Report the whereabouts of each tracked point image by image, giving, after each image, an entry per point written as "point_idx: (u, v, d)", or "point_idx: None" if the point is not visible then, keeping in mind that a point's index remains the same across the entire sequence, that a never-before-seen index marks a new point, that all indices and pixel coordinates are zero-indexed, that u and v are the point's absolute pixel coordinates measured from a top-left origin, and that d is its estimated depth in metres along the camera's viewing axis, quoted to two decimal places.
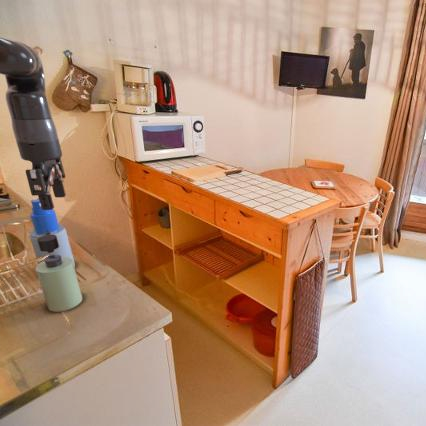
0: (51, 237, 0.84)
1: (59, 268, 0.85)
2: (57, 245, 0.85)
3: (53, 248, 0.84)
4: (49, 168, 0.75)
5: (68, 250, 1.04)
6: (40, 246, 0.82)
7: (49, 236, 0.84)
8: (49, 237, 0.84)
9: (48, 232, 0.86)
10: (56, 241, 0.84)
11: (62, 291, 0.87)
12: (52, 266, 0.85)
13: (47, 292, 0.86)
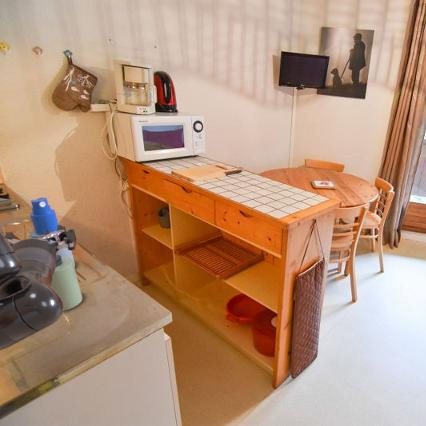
0: None
1: (59, 268, 0.85)
2: None
3: None
4: None
5: (68, 250, 1.04)
6: None
7: None
8: None
9: (48, 232, 0.86)
10: None
11: (62, 291, 0.87)
12: None
13: None
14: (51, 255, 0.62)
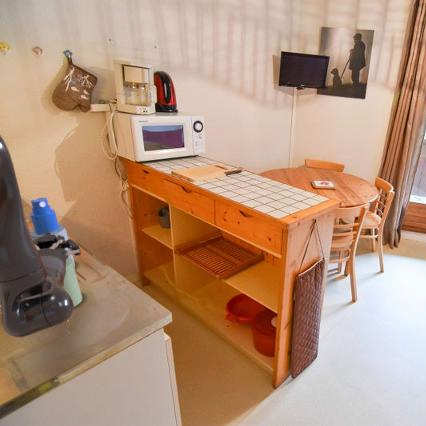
0: (51, 237, 0.84)
1: None
2: None
3: None
4: None
5: None
6: (40, 246, 0.82)
7: (49, 236, 0.84)
8: (49, 237, 0.84)
9: (48, 232, 0.86)
10: (56, 241, 0.84)
11: None
12: None
13: None
14: (62, 262, 0.75)
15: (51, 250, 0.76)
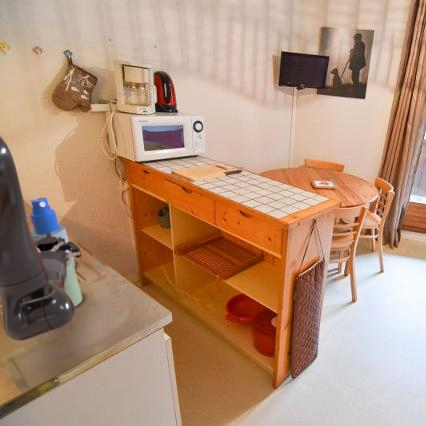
0: (52, 239, 0.84)
1: None
2: None
3: None
4: None
5: (68, 250, 1.04)
6: (41, 248, 0.83)
7: (50, 238, 0.85)
8: (50, 239, 0.84)
9: (49, 234, 0.87)
10: (57, 243, 0.85)
11: None
12: None
13: None
14: (63, 265, 0.75)
15: (52, 253, 0.76)
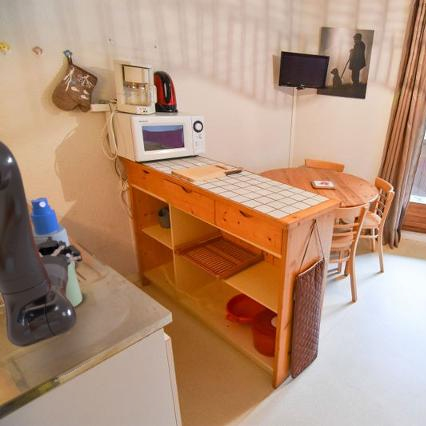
0: (53, 242, 0.85)
1: None
2: None
3: None
4: None
5: None
6: (42, 252, 0.83)
7: (51, 242, 0.85)
8: (51, 242, 0.85)
9: (50, 238, 0.87)
10: (58, 247, 0.85)
11: None
12: None
13: None
14: (64, 269, 0.76)
15: (53, 257, 0.77)
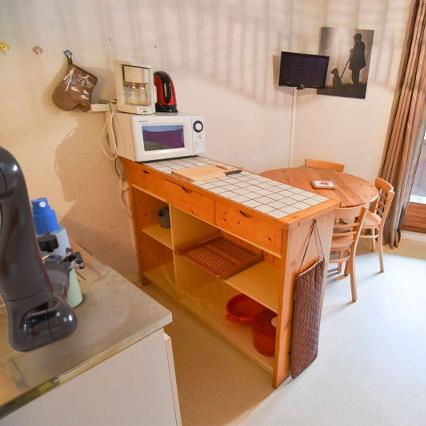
0: (51, 237, 0.84)
1: None
2: (57, 245, 0.85)
3: (53, 248, 0.84)
4: None
5: None
6: (40, 246, 0.82)
7: (49, 236, 0.84)
8: (49, 236, 0.84)
9: (48, 232, 0.86)
10: (56, 241, 0.84)
11: None
12: None
13: None
14: (66, 276, 0.77)
15: (55, 264, 0.77)
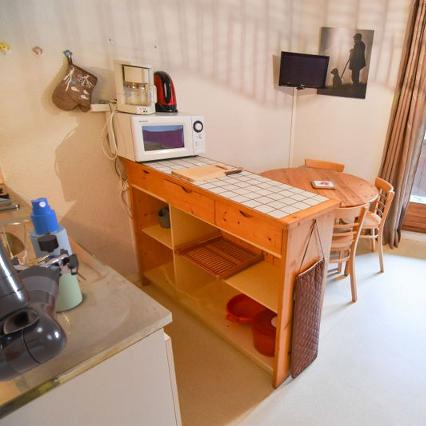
0: (51, 237, 0.84)
1: None
2: (57, 245, 0.85)
3: (53, 248, 0.84)
4: None
5: (68, 250, 1.04)
6: (40, 246, 0.82)
7: (49, 236, 0.84)
8: (49, 236, 0.84)
9: (48, 232, 0.86)
10: (56, 241, 0.84)
11: (62, 291, 0.87)
12: None
13: None
14: (55, 283, 0.65)
15: (42, 268, 0.65)
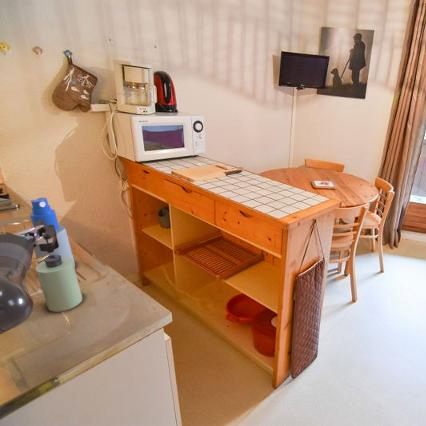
0: None
1: (59, 268, 0.85)
2: (57, 245, 0.85)
3: (53, 248, 0.84)
4: None
5: (68, 250, 1.04)
6: (40, 246, 0.82)
7: None
8: None
9: None
10: (56, 241, 0.84)
11: (62, 291, 0.87)
12: (52, 266, 0.85)
13: (47, 292, 0.86)
14: (26, 251, 0.59)
15: (13, 236, 0.60)
